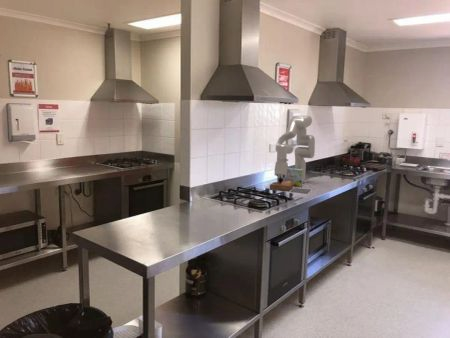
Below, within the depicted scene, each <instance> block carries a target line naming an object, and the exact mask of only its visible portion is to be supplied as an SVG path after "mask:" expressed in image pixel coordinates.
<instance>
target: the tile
mask: <svg viewBox="0 0 450 338" xmlns="http://www.w3.org/2000/svg"><path fill="white" fill-rule="evenodd" d="M281 185H285V186H289V185H291V181H283V182H281Z"/></svg>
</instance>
